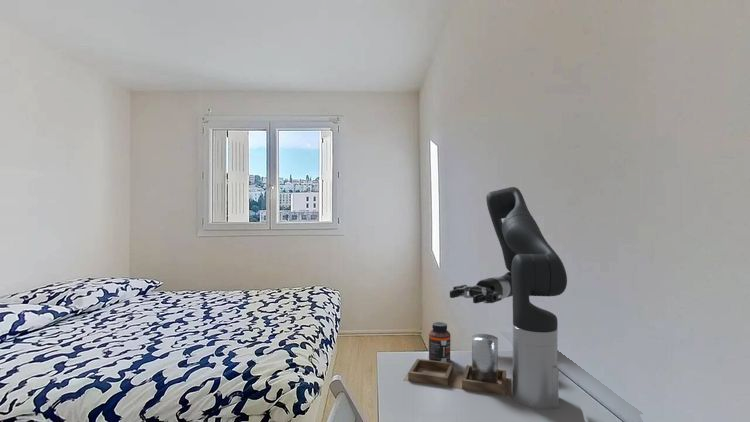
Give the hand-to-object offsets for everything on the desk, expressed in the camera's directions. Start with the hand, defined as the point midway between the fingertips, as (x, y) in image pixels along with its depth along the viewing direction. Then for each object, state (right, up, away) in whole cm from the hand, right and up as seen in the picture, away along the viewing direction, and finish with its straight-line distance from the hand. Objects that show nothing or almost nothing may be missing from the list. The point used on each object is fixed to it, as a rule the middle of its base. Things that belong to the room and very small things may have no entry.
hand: (462, 297), depth 117 cm
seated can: (+1, -16, -21) cm, 27 cm away
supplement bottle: (-8, -18, -7) cm, 20 cm away
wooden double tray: (-5, -17, -19) cm, 26 cm away
